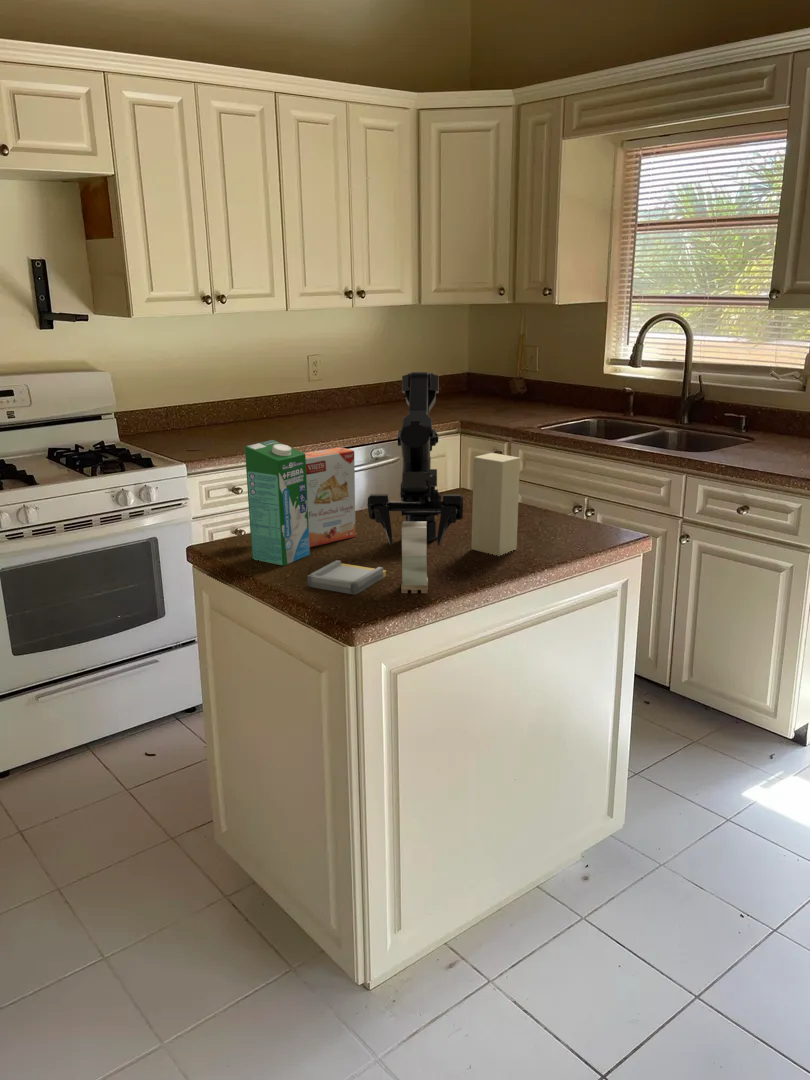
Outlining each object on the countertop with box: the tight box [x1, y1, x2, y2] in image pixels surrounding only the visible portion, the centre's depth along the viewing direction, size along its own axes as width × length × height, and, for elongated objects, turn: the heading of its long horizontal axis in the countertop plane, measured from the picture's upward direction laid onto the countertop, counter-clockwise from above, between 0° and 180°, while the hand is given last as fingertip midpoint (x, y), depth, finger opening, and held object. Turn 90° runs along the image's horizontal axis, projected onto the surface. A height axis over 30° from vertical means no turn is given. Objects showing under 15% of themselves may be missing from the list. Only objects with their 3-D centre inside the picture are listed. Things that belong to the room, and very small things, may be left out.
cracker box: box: [304, 446, 356, 548], centre depth 196 cm, size 14×6×21 cm, turn 131°
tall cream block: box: [471, 452, 521, 557], centre depth 188 cm, size 8×7×21 cm
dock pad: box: [306, 559, 387, 596], centre depth 172 cm, size 12×11×2 cm
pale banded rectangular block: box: [400, 520, 429, 594], centre depth 166 cm, size 5×5×13 cm
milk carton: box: [244, 439, 311, 567], centre depth 184 cm, size 9×9×25 cm
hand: (414, 544), depth 166 cm, fingers open, 9 cm apart
